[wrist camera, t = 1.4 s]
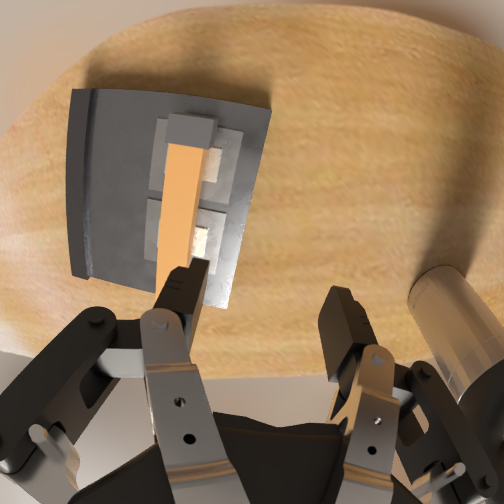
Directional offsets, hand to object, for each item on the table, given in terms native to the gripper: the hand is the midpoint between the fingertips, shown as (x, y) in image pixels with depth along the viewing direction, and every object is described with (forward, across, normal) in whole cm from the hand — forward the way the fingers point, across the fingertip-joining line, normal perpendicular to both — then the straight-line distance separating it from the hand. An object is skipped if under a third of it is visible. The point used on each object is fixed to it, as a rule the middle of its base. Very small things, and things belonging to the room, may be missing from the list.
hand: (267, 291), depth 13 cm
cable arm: (+15, +7, +5) cm, 17 cm away
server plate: (+19, +11, +4) cm, 23 cm away
